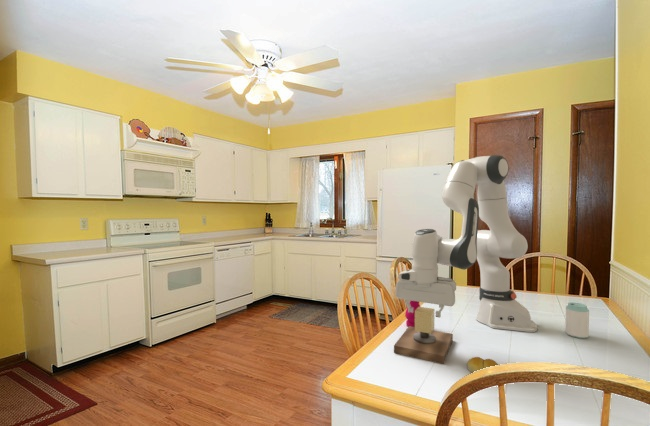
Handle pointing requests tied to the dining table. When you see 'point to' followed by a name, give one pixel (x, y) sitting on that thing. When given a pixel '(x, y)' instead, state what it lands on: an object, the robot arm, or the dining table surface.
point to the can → (577, 320)
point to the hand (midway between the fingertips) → (424, 314)
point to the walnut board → (424, 345)
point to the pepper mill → (411, 314)
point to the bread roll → (479, 363)
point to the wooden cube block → (424, 320)
